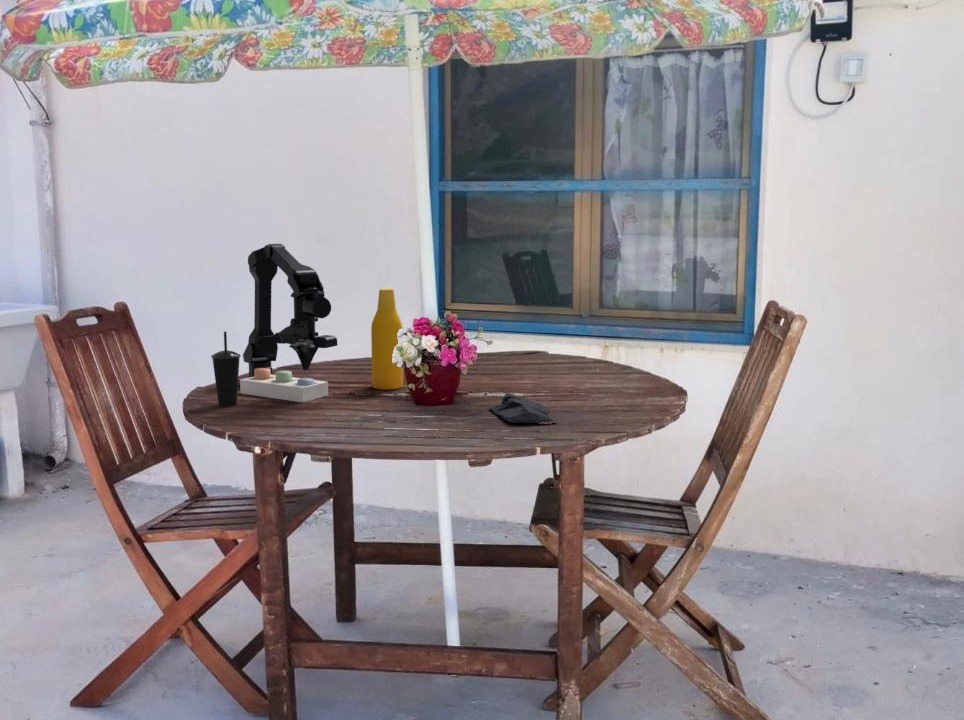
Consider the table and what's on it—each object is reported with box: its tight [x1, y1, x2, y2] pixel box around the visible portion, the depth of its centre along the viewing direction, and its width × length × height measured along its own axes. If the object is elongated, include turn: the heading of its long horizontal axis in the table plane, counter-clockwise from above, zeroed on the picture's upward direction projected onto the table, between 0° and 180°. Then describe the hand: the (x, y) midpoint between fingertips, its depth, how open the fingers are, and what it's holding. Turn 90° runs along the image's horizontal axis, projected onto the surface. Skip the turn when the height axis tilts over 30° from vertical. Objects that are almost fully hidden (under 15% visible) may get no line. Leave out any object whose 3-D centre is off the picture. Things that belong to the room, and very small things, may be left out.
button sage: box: [274, 370, 293, 383], centre depth 304 cm, size 5×5×5 cm
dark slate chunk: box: [488, 392, 555, 424], centre depth 279 cm, size 15×22×5 cm
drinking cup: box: [210, 331, 241, 407], centre depth 289 cm, size 8×8×20 cm
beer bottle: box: [370, 288, 404, 391], centre depth 314 cm, size 9×9×29 cm
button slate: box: [297, 377, 315, 386], centre depth 300 cm, size 5×5×5 cm
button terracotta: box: [254, 368, 271, 380], centre depth 308 cm, size 5×5×5 cm
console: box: [239, 373, 329, 403], centre depth 304 cm, size 23×11×4 cm, turn 59°
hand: (305, 370), depth 299 cm, fingers closed
